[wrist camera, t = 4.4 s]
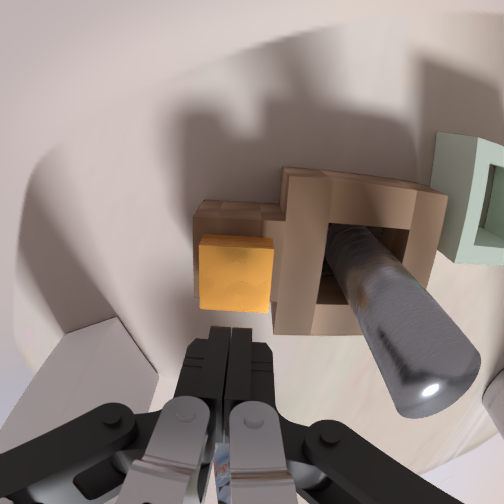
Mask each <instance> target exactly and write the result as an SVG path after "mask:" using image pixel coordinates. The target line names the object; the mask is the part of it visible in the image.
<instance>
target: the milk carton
mask: <svg viewBox="0 0 504 504" xmlns="http://www.w3.org/2000/svg"><path fill="white" fill-rule="evenodd" d="M158 380H159V375H158V374H157V373H156V371H155V370H154V369H153V367H152V366H151V365H150V363H149V362H148V361H147V359H146V358H145V357H144V355H143V354H142V352H141V351H140V350H139V348H138V347H137V345H136V344H135V342H134V341H133V340H132V338H131V337H130V335H129V334H128V332H127V331H126V329H125V328H124V326H123V325H122V323H121V322H120V320H119V319H118V318H117V317H115V318H112V319H109V320H106V321H103V322H100V323H97V324H94V325H91V326H88V327H85V328H82V329H80V330H77V331H74V332H71V333H68V334H65V335H64V336H63V338H62V339H61V340H60V342H59V343H58V344H57V346H56V347H55V348H54V350H53V351H52V353H51V354H50V355H49V357H48V358H47V359H46V361H45V362H44V364H43V365H42V367H41V368H40V369H39V371H38V372H37V374H36V375H35V377H34V378H33V380H32V381H31V383H30V384H29V386H28V387H27V389H26V390H25V392H24V393H23V395H22V396H21V398H20V399H19V401H18V402H17V404H16V405H15V407H14V409H13V410H12V412H11V413H10V415H9V416H8V418H7V420H6V421H5V423H4V425H3V426H2V428H1V430H0V454H1V453H4V452H6V451H8V450H10V449H13V448H15V447H17V446H19V445H21V444H24V443H26V442H28V441H30V440H32V439H34V438H36V437H38V436H41V435H43V434H45V433H47V432H49V431H51V430H53V429H55V428H57V427H59V426H61V425H63V424H65V423H67V422H69V421H71V420H73V419H75V418H77V417H79V416H81V415H83V414H85V413H87V412H89V411H91V410H93V409H94V408H96V407H98V406H100V405H103V404H106V403H111V402H115V403H121V404H124V405H126V406H128V407H129V408H130V409H131V410H132V411H133V413H134V414H140V413H148V411H149V408H150V405H151V402H152V399H153V395H154V392H155V389H156V386H157V383H158ZM118 496H119V495H117V496H116V497H114V498H112V499H111V500H109V501H107V502H106V503H104V504H115V503H116V501H117V498H118Z"/></svg>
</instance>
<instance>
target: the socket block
mask: <svg viewBox="0 0 504 504" xmlns="http://www.w3.org/2000/svg"><path fill="white" fill-rule="evenodd" d="M447 200H448V195H446V194H443V193H441V192H439V191H437V190H434V189H432V188H430V187H427V186H425V185H423V184H420V183H416V182H410V181H404V180H397V179H390V178H384V177H376V176H369V175H361V174H353V173H345V172H336V171H326V170H316V169H306V168H294V167H282V180H281V192H280V204H271V203H255V202H236V201H214V200H203V202H202V204H201V205H200V207H199V208H198V210H197V211H196V213H195V214H194V216H193V266H194V297H200V295H199V243H200V241H201V239H202V237H203V234H211V235H231V236H250V237H268V238H272V239H273V245H274V257H273V268H272V279H271V290H270V300H269V301H271V313H272V324H273V335H311V336H348V335H363V333H362V331H361V329H360V326H359V324H358V322H357V320H356V318H355V316H354V314H353V312H352V310H351V308H350V306H349V304H348V302H347V300H346V297H345V295H344V293H343V291H342V289H341V287H340V285H339V283H338V281H337V279H336V277H332V276H321V271H322V265H323V259H324V252H325V245H326V238H327V231H328V224H329V223H339V224H352V225H364V226H376V227H383V229H382V234H381V240H380V242H381V243H382V244H383V245H384V246H385V247H386V248H387V249H388V250H389V251H390V252H391V253H392V254H393V255H394V256H395V257H396V258H397V259H398V260H399V262H400V263H401V264H402V265H403V266H404V267H405V268H406V269H407V270H408V271H409V272H410V273H411V274H412V275H413V276H414V277H415V278H416V280H417V281H418V282H419V283H420V284H421V285H422V286H423V287H424V288H425V289H426V287H427V284H428V280H429V277H430V273H431V270H432V266H433V262H434V259H435V255H436V251H437V247H438V243H439V239H440V234H441V230H442V225H443V221H444V216H445V211H446V206H447Z"/></svg>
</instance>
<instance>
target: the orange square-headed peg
mask: <svg viewBox="0 0 504 504" xmlns="http://www.w3.org/2000/svg"><path fill="white" fill-rule="evenodd" d="M273 257H274V245H273V239H272V238H268V237H250V236H231V235H211V234H203V237H202V239H201V241H200V243H199V295H200V309H207V310H223V311H240V312H260V313H268V311H269V300H270V290H271V279H272V268H273Z"/></svg>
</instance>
